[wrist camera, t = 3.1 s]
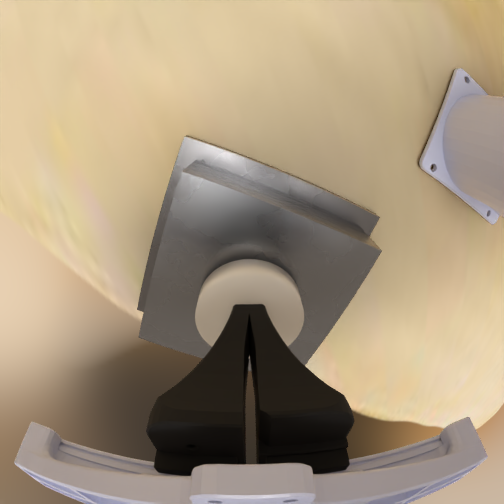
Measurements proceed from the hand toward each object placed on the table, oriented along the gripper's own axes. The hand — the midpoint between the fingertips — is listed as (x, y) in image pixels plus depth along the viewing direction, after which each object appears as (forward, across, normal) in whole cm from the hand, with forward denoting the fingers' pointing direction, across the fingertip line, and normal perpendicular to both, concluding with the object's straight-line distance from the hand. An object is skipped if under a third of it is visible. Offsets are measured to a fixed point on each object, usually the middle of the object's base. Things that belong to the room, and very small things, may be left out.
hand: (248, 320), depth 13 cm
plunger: (+5, 0, 0) cm, 5 cm away
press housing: (+6, 0, 0) cm, 6 cm away
